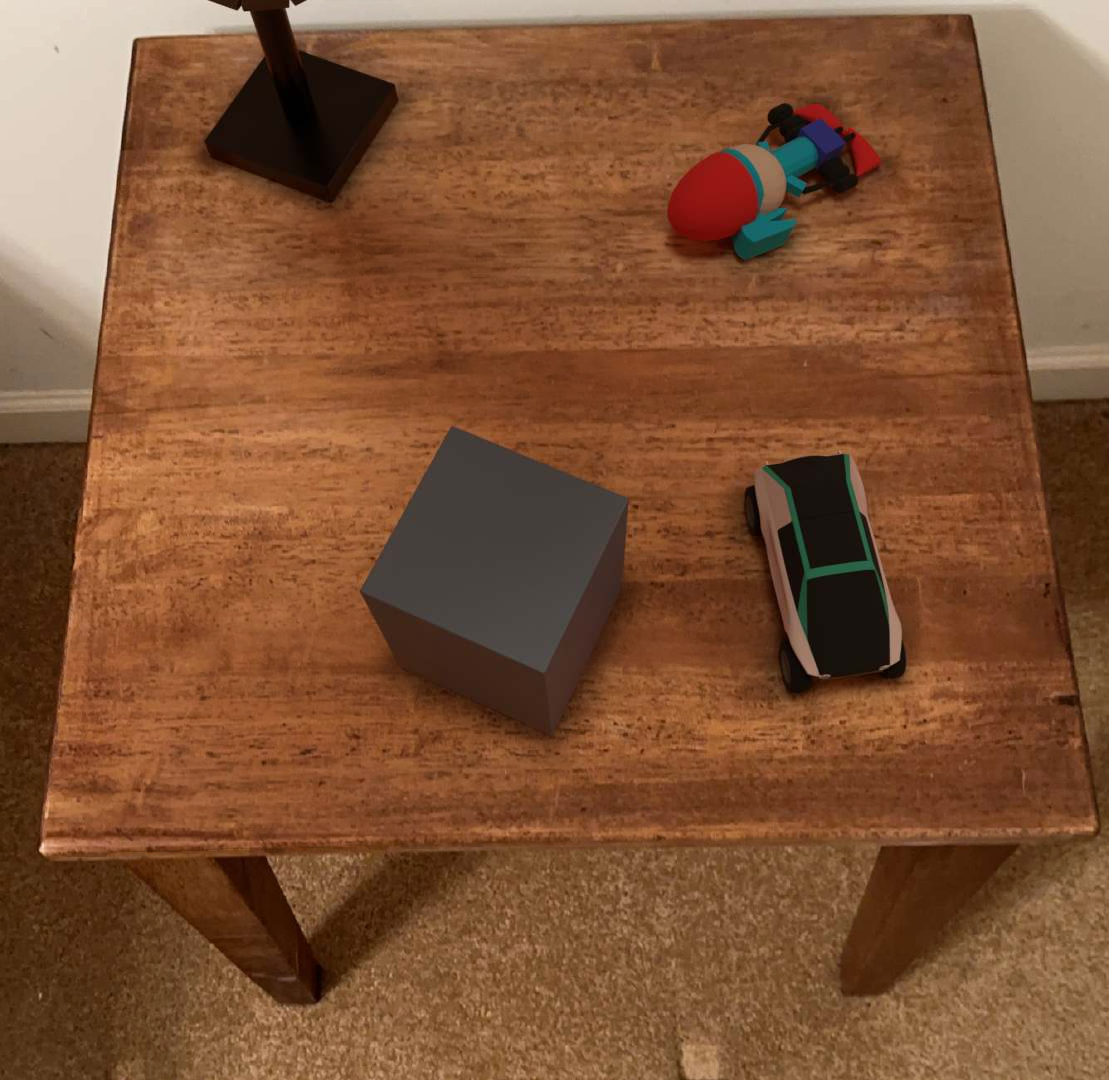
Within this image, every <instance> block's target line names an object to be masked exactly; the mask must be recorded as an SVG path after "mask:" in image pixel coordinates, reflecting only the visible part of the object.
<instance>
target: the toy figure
mask: <svg viewBox="0 0 1109 1080" xmlns="http://www.w3.org/2000/svg"><path fill="white" fill-rule="evenodd" d="M766 117H767V122H768V124H769V125H767V127H766V128H765V130H764V131H763V133H762V134H761V135H760V137H759V138H758V140H757V141H756V143H755V144H748V143H741V144H737V145H734V146H733V145H732V146H730V147H729V148H722V149H721V150H720V151H715V152H713V153H712V154H710V155H708V156H706V157H705V158H703V159H702V160H700V161H699V162H697V163H696V164H694V165H693V166H692V167H691V168H690V169H689V170H688V171H687V172H686V173H685V174H684V175H683V176H682V177H681V178H680V179H679V180H678V183H677V184H676V186H675V187H674V188H673V191H672V192H671V195H670V197H669V201H668V203H667V218H668V223H669V224H670V225H671V228H672V229H673V230H674V231H675V232H676V233H677V234H678V235H680V236H681V237H683V238H686V239H689V240H693V241H699V242H704V241H718V240H723V239H725V238H729V237H732V242H733V250H734V251H735V253H736V255H737V256H738V257H740V258H741V259H743V260H744V261H746V260H750V259H752V258H755V257H757V256H760V255H762V254H765V253H768V252H770V251H772V250H775V249H777V248H780V247H782V246H784V245H785V244H786V242H787V241H788V239H789V237H790V236H791V233H792V232H793V229H794V227H795V226H796V224H797V222H798V221H799V218H794V219H784V216H785V215H786V212H787V210H788V207H780V206H781V205H782V202H783V201H784V199H785V195H786V192H788V193H790V194H791V195H793V196H795V197H797V198H800V197H801V195H807V194H811V193H813V192H816V191H819V190H822V189H824V188H827V187H829V186H831V185H832V190H833V192H834V193H836V194H843V193H846V192H848V191H850V190H851V189H853V188H856V186H858V184H859V180H860V179H859V176H862V175H864V174H866V173H869V172H870V171H872V170H873V169H875V168H877V167H878V166H879V165H880V164H882V159H881V158H880V156H879V154H878V153H877V151H876V150H875V149H874V148H873V146H871V144H870V143H869V142H868V141H867V140H866V138H864V136H863V135H861V134H860V133H859V132H858V131H856V130H855V129H854V128H852V127H848V128H845V127H844V125H843V123H841V121H840V120H839V119H838V118H837V117H836V116H835V115H834V114H833V113H832V112H831V111H830V110H829V109H827V107H825V106H824V105H822V104H820V103H812V104H808V105H805V106H803V107H800V108H797V109H795V110H794V107H792V105H791V104H790V103H786V102H784V103H780V104H779V105H776V106H774V107H772V108H771V109H770V110H769V111H768V113H767V116H766ZM806 121H807V122H809V123H808V124H806ZM777 128H778V130H779V133H780V135H781V136H782V137H783V139H784V143H785V144H782V145H781V146H779V147H777V148H775V149H772V150H771V148H770V145H769V142H768V141H765V140H766V139H767V137H768V136H769V135H770V134H771V132H772V131H773V130H776V129H777ZM847 143H848V144H849V147H850V151H851V154H852V155H851V156H852V158H853V162H854V165H855V171H856V172H855V173H851V168H850V167H849V165H847V164H844V161H843V159H842V158H841V157H840V155H841V154H842V152H843V151H844V147H845V146H846V144H847ZM814 169H816V170H817V173H818V175H819V176H820V177H822V178H824V180H825V182H824V181H820V182H817V183H814V184H811V185H808V183H807V182H805V181H804V180H802V179H800V178H799V177H801V176H803V175H805V174H807V173H808V172H810V171H812V170H814ZM807 185H808V186H807Z"/></svg>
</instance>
